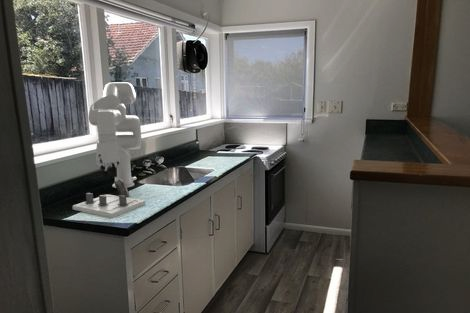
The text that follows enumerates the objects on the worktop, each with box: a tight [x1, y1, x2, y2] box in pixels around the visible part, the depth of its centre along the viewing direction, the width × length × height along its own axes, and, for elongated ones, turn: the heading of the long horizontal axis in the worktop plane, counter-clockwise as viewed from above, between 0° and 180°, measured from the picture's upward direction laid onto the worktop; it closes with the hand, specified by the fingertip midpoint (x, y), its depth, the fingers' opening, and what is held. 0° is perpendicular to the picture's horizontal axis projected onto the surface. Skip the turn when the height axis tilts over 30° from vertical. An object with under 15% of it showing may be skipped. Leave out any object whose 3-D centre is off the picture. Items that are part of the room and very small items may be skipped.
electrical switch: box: [113, 178, 131, 198], centre depth 200 cm, size 9×5×9 cm, turn 32°
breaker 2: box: [98, 194, 109, 206], centre depth 177 cm, size 3×4×4 cm
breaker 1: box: [84, 192, 95, 204], centre depth 181 cm, size 3×4×4 cm
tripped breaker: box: [118, 195, 129, 206], centre depth 176 cm, size 3×4×4 cm
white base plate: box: [72, 194, 146, 218], centre depth 181 cm, size 22×26×2 cm
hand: (110, 177), depth 168 cm, fingers open, 4 cm apart
